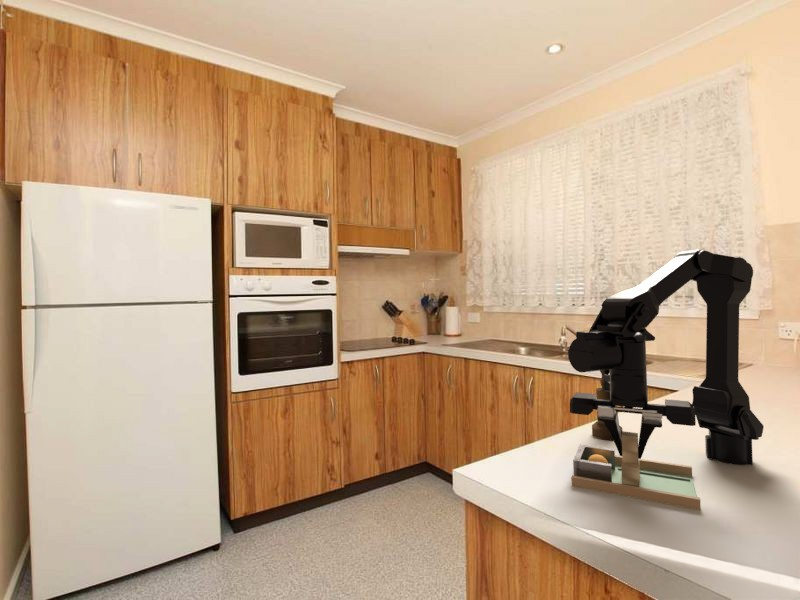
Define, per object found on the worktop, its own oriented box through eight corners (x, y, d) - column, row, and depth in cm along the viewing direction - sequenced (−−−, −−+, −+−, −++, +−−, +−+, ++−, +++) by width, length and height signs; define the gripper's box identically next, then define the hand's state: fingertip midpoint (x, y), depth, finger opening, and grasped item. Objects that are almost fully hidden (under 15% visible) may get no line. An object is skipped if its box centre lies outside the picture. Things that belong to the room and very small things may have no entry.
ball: (592, 448, 78) (585, 464, 78) (590, 454, 75) (583, 471, 75) (612, 457, 76) (605, 474, 77) (610, 464, 73) (603, 481, 74)
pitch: (691, 480, 74) (691, 466, 74) (700, 516, 62) (700, 499, 62) (582, 462, 83) (582, 450, 83) (571, 491, 71) (571, 477, 71)
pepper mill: (586, 432, 102) (584, 358, 102) (611, 431, 102) (609, 357, 102) (602, 441, 95) (599, 362, 95) (629, 439, 96) (626, 361, 96)
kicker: (639, 473, 75) (638, 430, 75) (639, 486, 70) (638, 440, 70) (623, 470, 76) (622, 428, 76) (621, 483, 71) (620, 438, 71)
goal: (615, 467, 78) (614, 449, 78) (611, 486, 70) (611, 466, 70) (580, 462, 81) (580, 444, 81) (573, 480, 73) (573, 460, 73)
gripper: (688, 363, 75) (691, 450, 75) (576, 358, 85) (579, 435, 85) (694, 373, 66) (697, 473, 65) (567, 367, 75) (570, 454, 75)
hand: (630, 456), depth 73 cm, fingers closed on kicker, 2 cm apart
